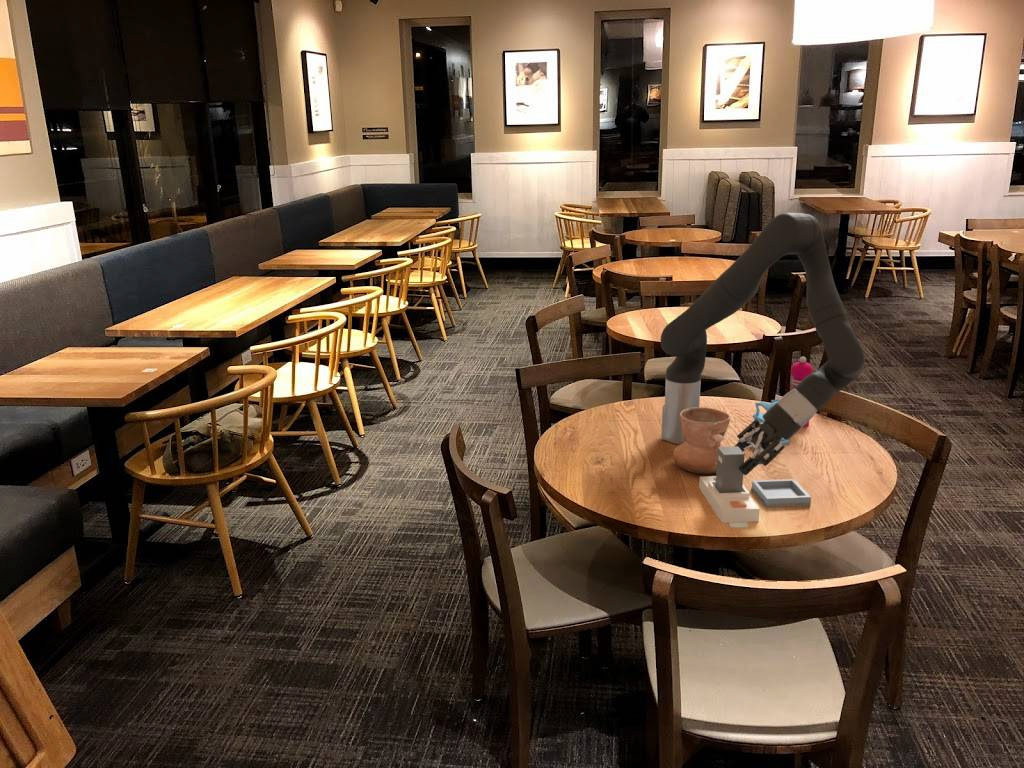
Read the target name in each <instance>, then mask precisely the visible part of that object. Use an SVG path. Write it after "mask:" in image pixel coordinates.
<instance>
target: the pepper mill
mask: <svg viewBox="0 0 1024 768" xmlns="http://www.w3.org/2000/svg"><path fill="white" fill-rule="evenodd" d="M811 373H814V367H813V366H812V364H810V363H809V362H808V361H807V358H806V357H805V356H800V357H799V361H796V362H795V363H793V364H792V366H791V368H790V374H791V376H792V377H791V384H792V389H794V388H795V387H796V386H797V385H798V384H799V383H800V382H801V381H802V380H803V379H804V378H805V377H807V376H808V375H809V374H811ZM809 425H810V420H809V421H808V422H807V423H806V424H805V425H804V426H803V427H802V428H803V429H804V428H807V427H808V426H809ZM802 428H801V429H802Z"/></svg>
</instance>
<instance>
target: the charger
mask: <svg viewBox="0 0 1024 768" xmlns="http://www.w3.org/2000/svg"><path fill="white" fill-rule="evenodd" d="M734 446H735V445H734ZM734 446H725V447H718V451H717V468H716V473H715V476H716V485H715V488H716V489H717V490H718V492H719V493H737V492H742V485H744V484H743V482H744V474H743V473H742V472H741V471H740V470H739V467H740V466H741V465H742V464H743V463H744V462H745V456H746V455H745V453H744V451H743V452H742V450H741V449H740V448H739V447H738V446H735V447H734Z"/></svg>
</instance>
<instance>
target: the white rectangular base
mask: <svg viewBox="0 0 1024 768" xmlns="http://www.w3.org/2000/svg"><path fill="white" fill-rule="evenodd" d="M698 485H699V486H698V489H699V490H700V493H702V494H703V497H705V499H706V501H707V503H708V504H709V505H710V507H711V509H712V510H713V511H714V513H715V515H716V516H717V518H718V519H719V520H720V523H721V524H727V523H728V524H729V523H731V524H732V523H752V522H759V521H760V510H761V509H760V508H759V506H758V505H757V503H756V502H755V501H754V500H753V499H752V497H751V496H750V494H751V492H750V491H749V490H748V489H747V488H746V486H745V485H744V484H743V485H742V492H737V493H719V492H718V490H717V489H716V488H715V485H716V475H710V476H709V475H708V476H699V484H698Z"/></svg>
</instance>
